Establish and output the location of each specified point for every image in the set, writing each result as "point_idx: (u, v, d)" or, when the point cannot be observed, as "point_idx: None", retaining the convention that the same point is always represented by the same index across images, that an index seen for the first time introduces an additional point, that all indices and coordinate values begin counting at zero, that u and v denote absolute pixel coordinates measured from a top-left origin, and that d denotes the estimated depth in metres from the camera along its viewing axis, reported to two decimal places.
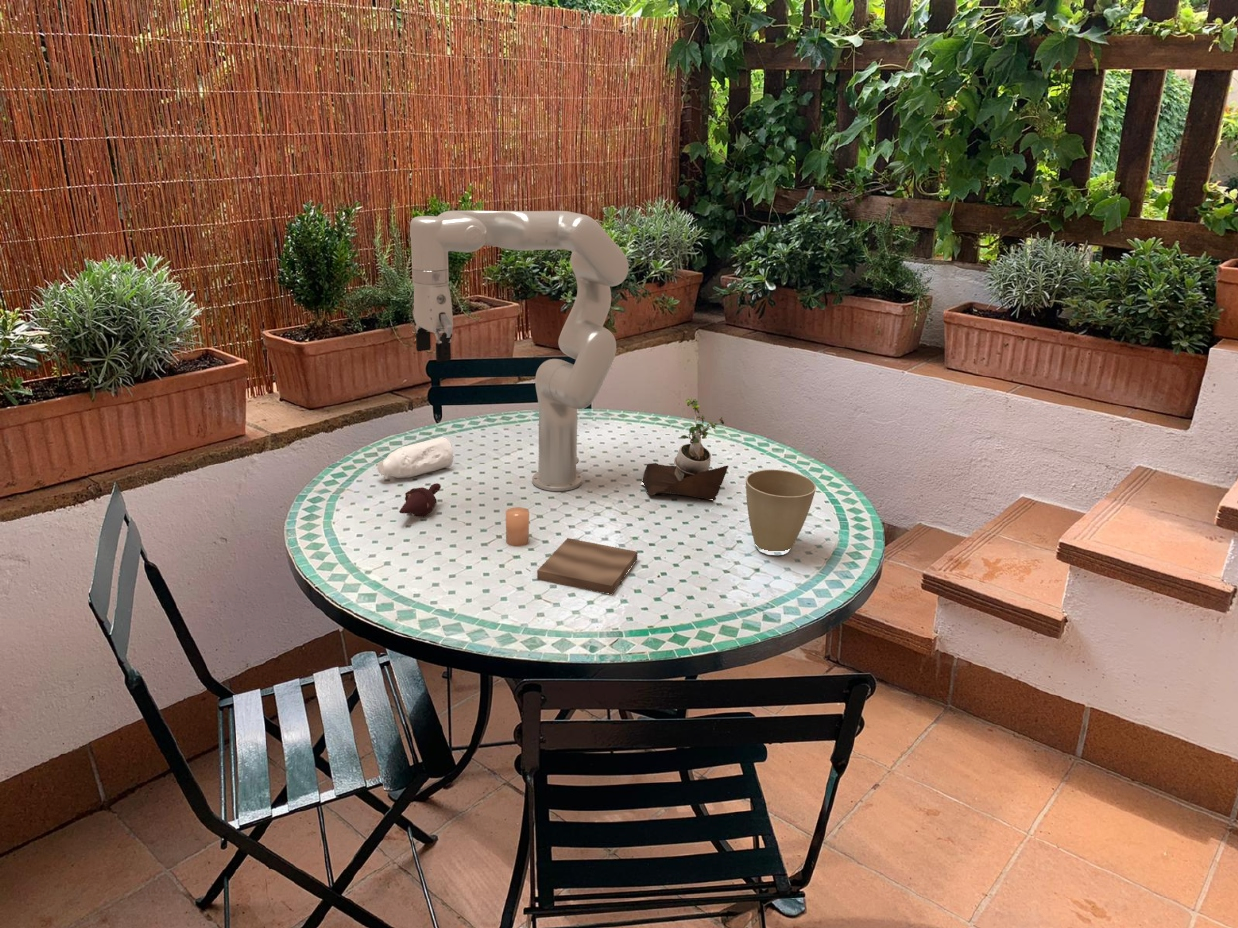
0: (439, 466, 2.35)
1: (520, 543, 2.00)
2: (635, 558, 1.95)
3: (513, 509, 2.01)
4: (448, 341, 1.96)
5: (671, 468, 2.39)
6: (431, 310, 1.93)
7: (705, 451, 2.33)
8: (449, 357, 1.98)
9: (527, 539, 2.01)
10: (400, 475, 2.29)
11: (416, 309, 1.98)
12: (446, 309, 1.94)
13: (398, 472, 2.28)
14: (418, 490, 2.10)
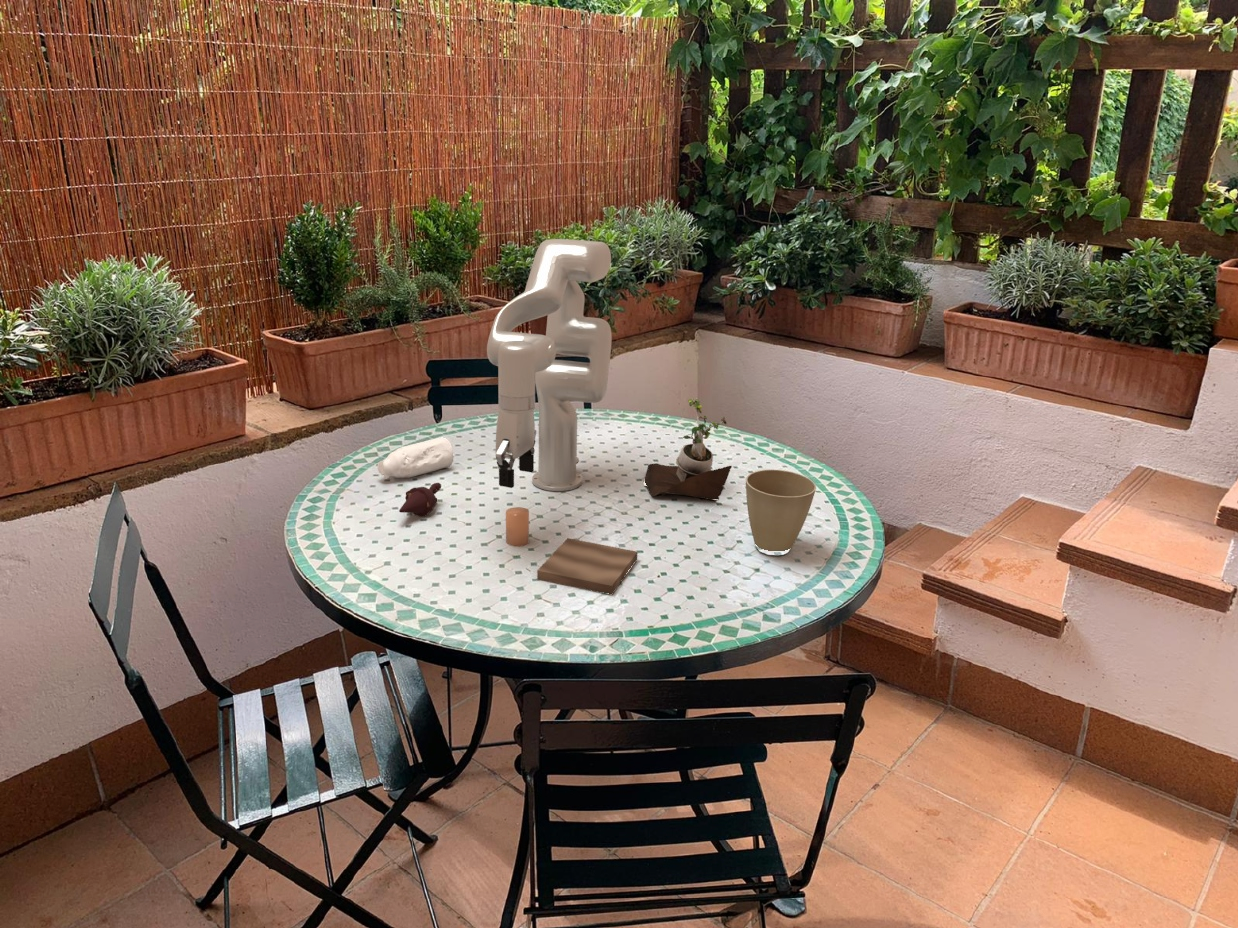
0: (439, 466, 2.35)
1: (520, 543, 2.00)
2: (635, 558, 1.95)
3: (513, 509, 2.01)
4: None
5: (673, 468, 2.39)
6: (534, 425, 1.96)
7: (707, 451, 2.33)
8: None
9: (527, 539, 2.01)
10: (400, 475, 2.29)
11: (521, 440, 1.90)
12: None
13: (398, 472, 2.28)
14: (418, 489, 2.11)
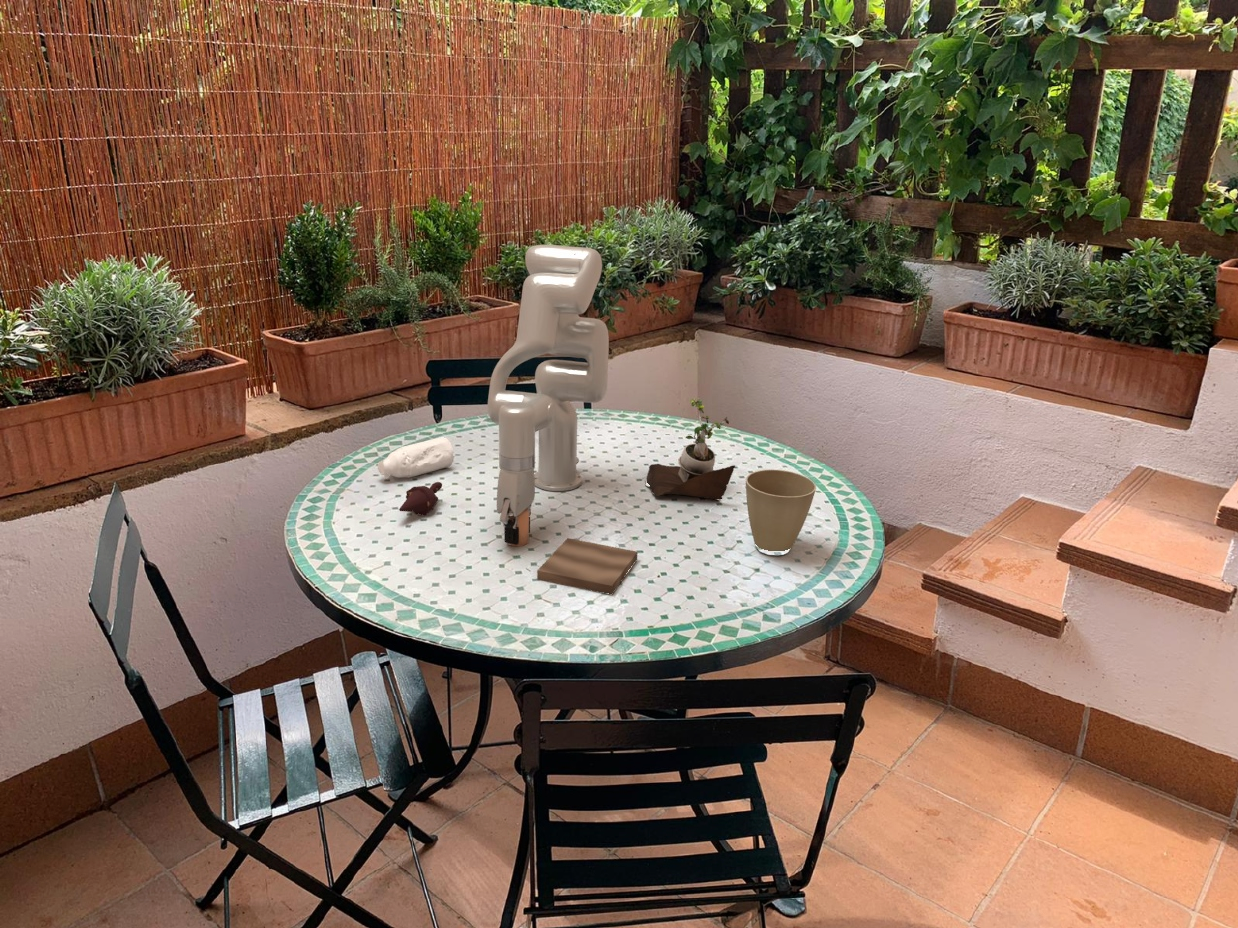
0: (439, 466, 2.36)
1: (520, 543, 2.00)
2: (635, 558, 1.95)
3: None
4: None
5: (674, 468, 2.38)
6: (534, 481, 2.01)
7: (709, 451, 2.34)
8: None
9: (527, 539, 2.01)
10: (400, 475, 2.29)
11: (522, 498, 1.95)
12: None
13: (398, 472, 2.29)
14: (419, 488, 2.11)
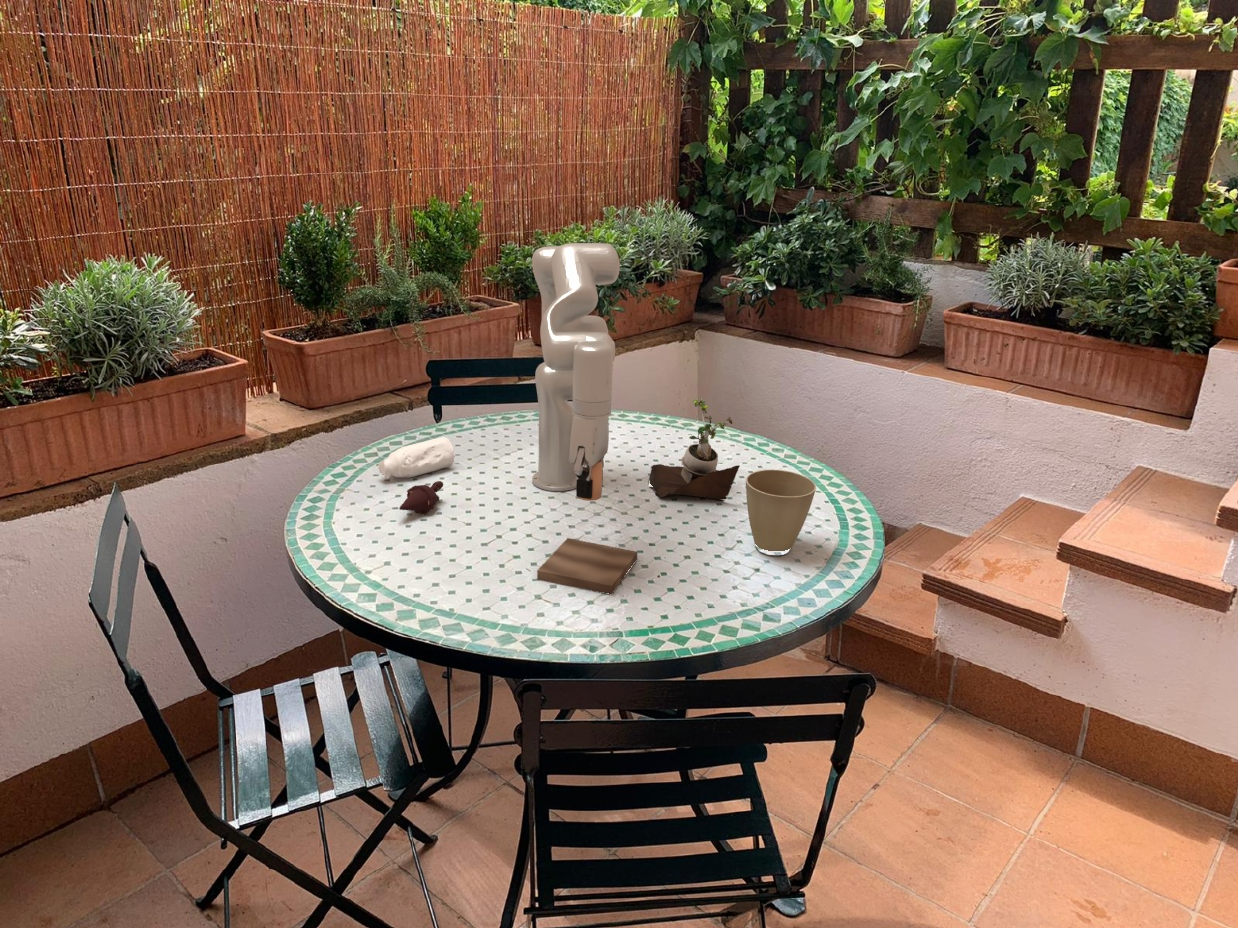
0: (440, 466, 2.36)
1: (593, 497, 1.83)
2: (635, 558, 1.95)
3: None
4: None
5: (677, 469, 2.38)
6: (608, 430, 1.84)
7: (712, 451, 2.34)
8: None
9: (600, 493, 1.84)
10: (401, 475, 2.29)
11: (597, 447, 1.78)
12: None
13: (399, 472, 2.29)
14: (419, 487, 2.12)
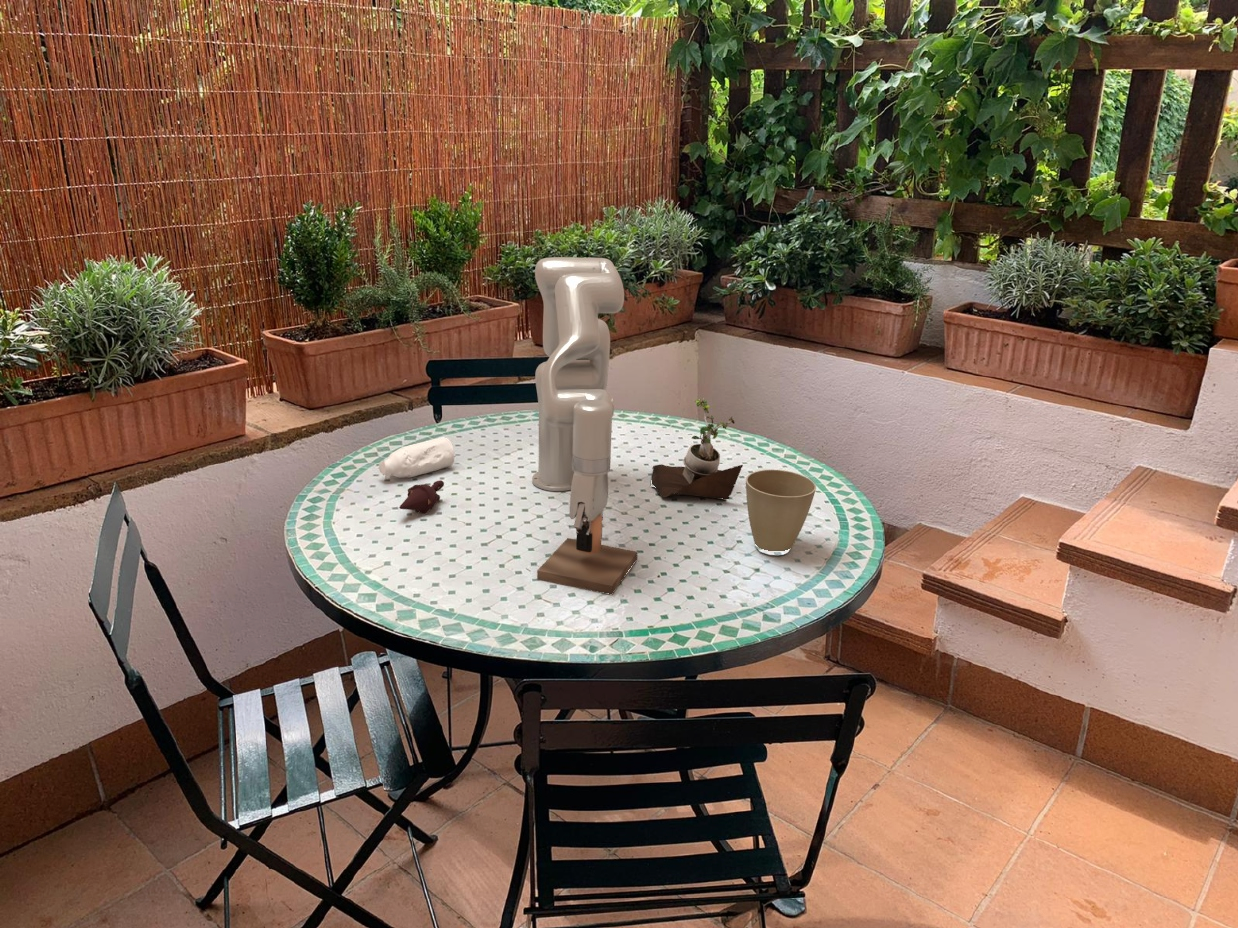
0: (440, 466, 2.36)
1: (593, 550, 1.87)
2: (635, 558, 1.95)
3: None
4: None
5: (678, 469, 2.38)
6: (607, 484, 1.88)
7: (713, 451, 2.34)
8: None
9: (600, 546, 1.88)
10: (402, 475, 2.29)
11: (597, 502, 1.82)
12: None
13: (400, 472, 2.29)
14: (420, 487, 2.12)
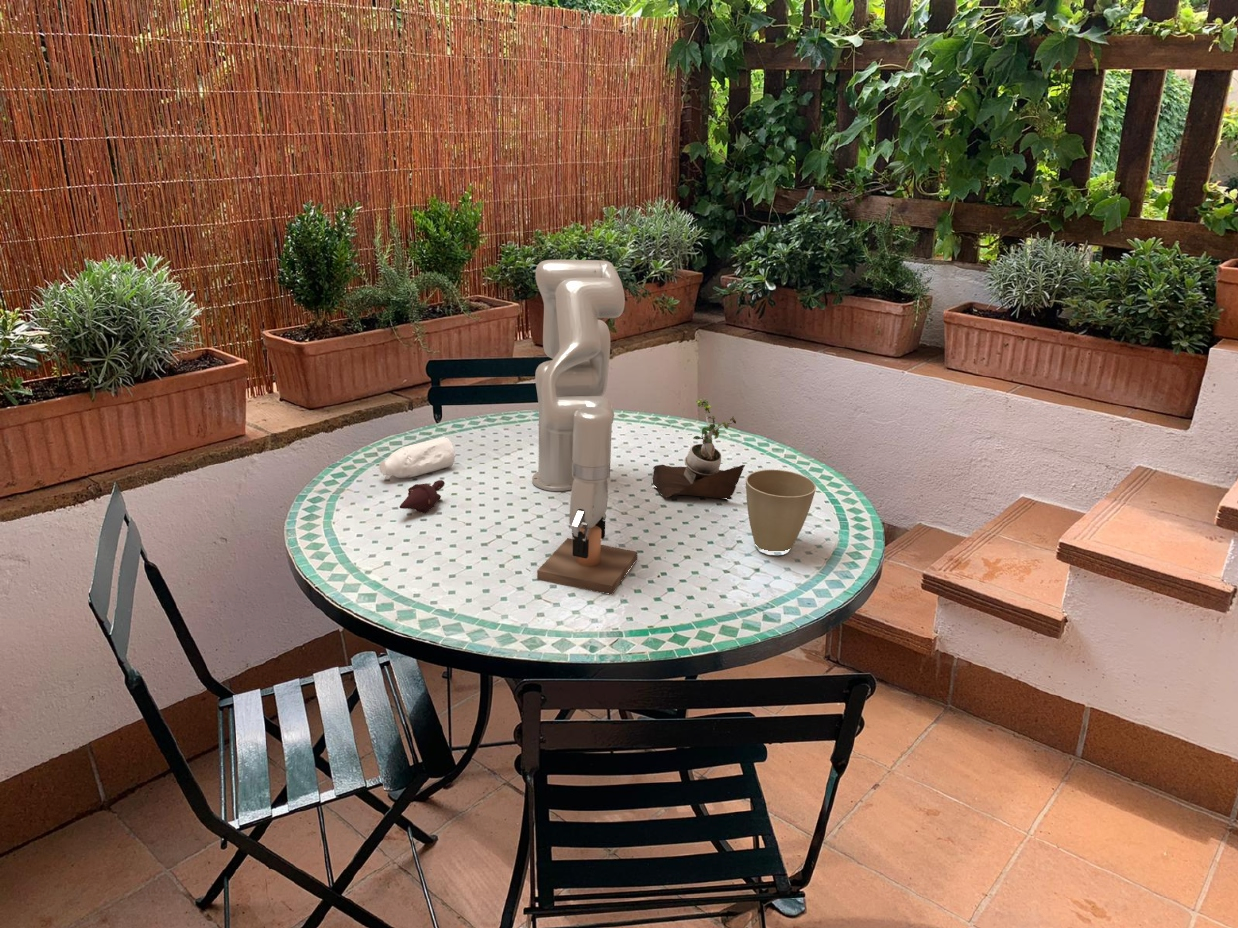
0: (441, 466, 2.36)
1: (592, 563, 1.88)
2: (635, 558, 1.95)
3: None
4: None
5: (679, 469, 2.38)
6: (607, 491, 1.88)
7: (715, 451, 2.34)
8: None
9: (599, 558, 1.89)
10: (402, 475, 2.29)
11: (596, 509, 1.83)
12: None
13: (400, 472, 2.29)
14: (420, 486, 2.12)
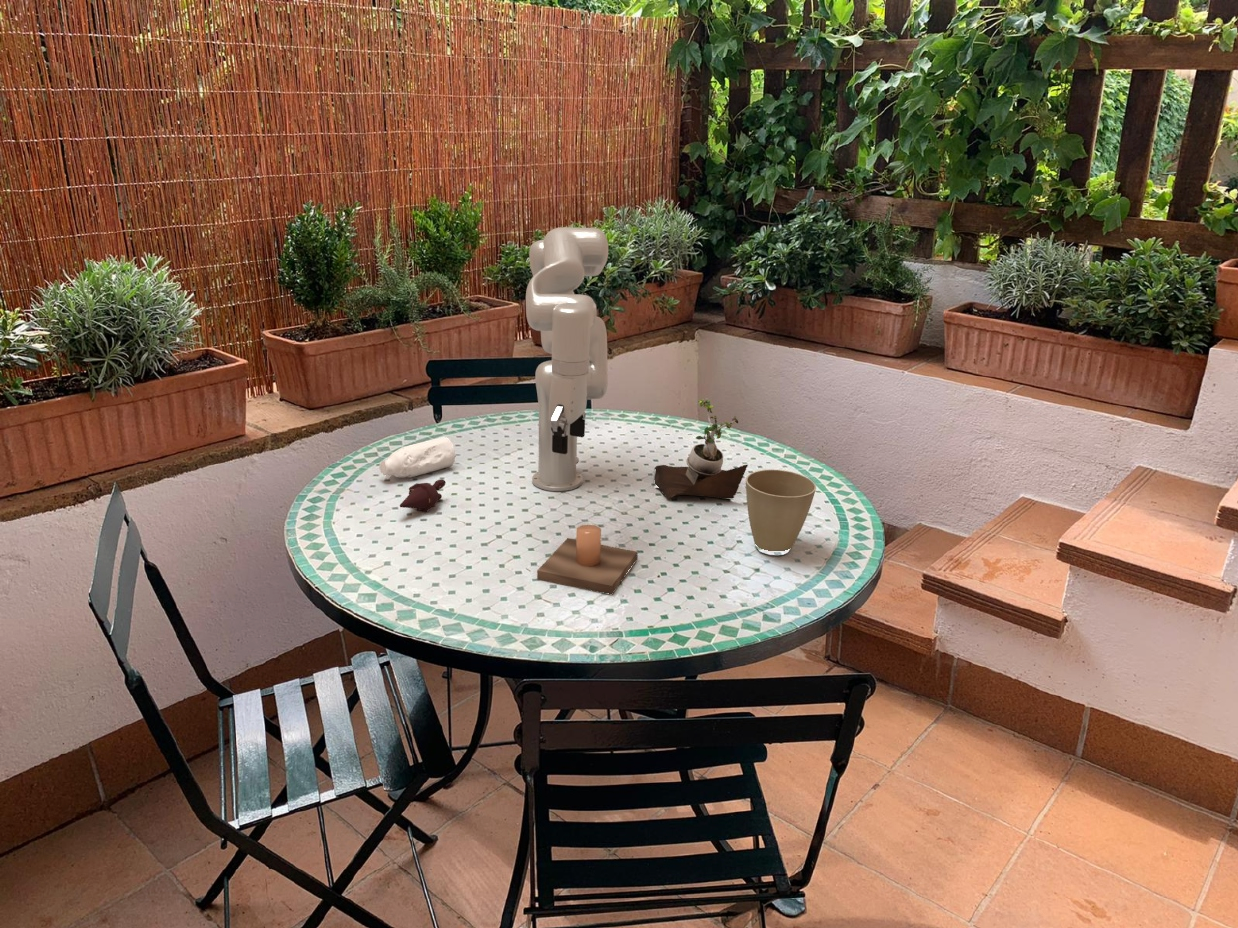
0: (441, 466, 2.36)
1: (592, 563, 1.88)
2: (635, 558, 1.95)
3: (584, 527, 1.89)
4: None
5: (681, 469, 2.38)
6: (586, 389, 1.91)
7: (716, 451, 2.34)
8: None
9: (599, 558, 1.89)
10: (402, 475, 2.29)
11: (575, 405, 1.85)
12: None
13: (400, 472, 2.29)
14: (421, 485, 2.13)
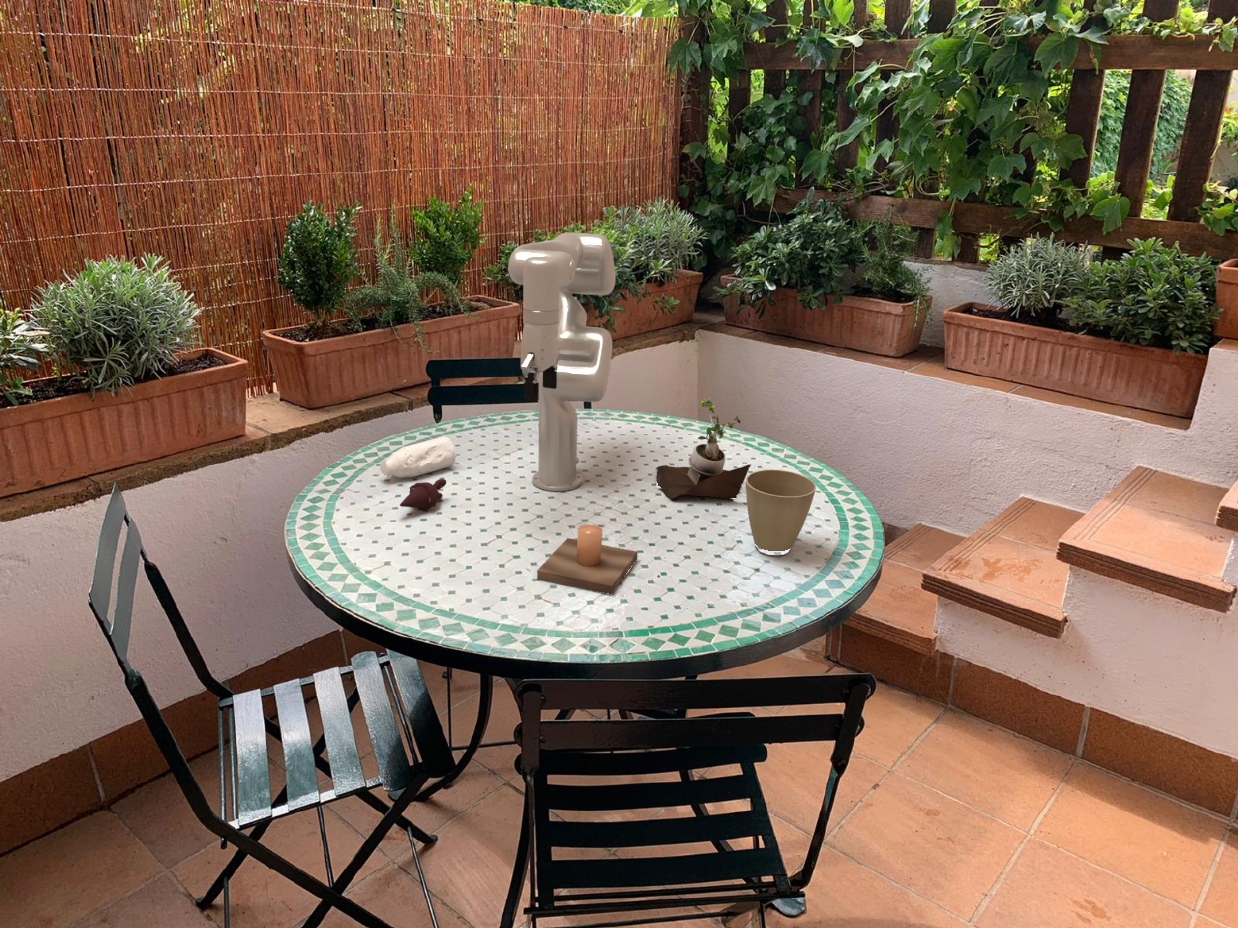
0: (441, 466, 2.36)
1: (593, 563, 1.88)
2: (635, 558, 1.95)
3: (585, 526, 1.89)
4: None
5: (683, 469, 2.38)
6: (557, 341, 2.01)
7: (718, 451, 2.34)
8: None
9: (599, 558, 1.90)
10: (403, 475, 2.29)
11: (546, 354, 1.95)
12: None
13: (401, 472, 2.28)
14: (421, 485, 2.13)
